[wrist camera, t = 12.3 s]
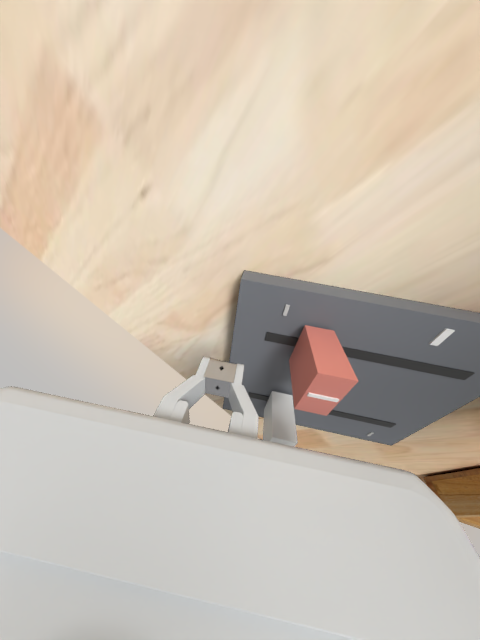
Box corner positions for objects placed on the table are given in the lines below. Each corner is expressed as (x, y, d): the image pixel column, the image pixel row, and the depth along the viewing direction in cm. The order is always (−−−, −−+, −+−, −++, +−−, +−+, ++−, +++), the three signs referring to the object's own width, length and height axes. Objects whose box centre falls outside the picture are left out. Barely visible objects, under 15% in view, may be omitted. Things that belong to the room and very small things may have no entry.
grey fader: (292, 395, 20) (297, 443, 16) (282, 413, 22) (284, 458, 18) (272, 391, 20) (272, 438, 16) (264, 409, 22) (262, 453, 19)
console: (542, 324, 13) (582, 342, 12) (383, 429, 25) (391, 446, 23) (244, 270, 14) (240, 279, 13) (225, 395, 26) (222, 409, 24)
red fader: (334, 330, 14) (359, 382, 10) (313, 365, 16) (326, 417, 13) (304, 324, 14) (318, 374, 10) (288, 360, 17) (294, 410, 13)
